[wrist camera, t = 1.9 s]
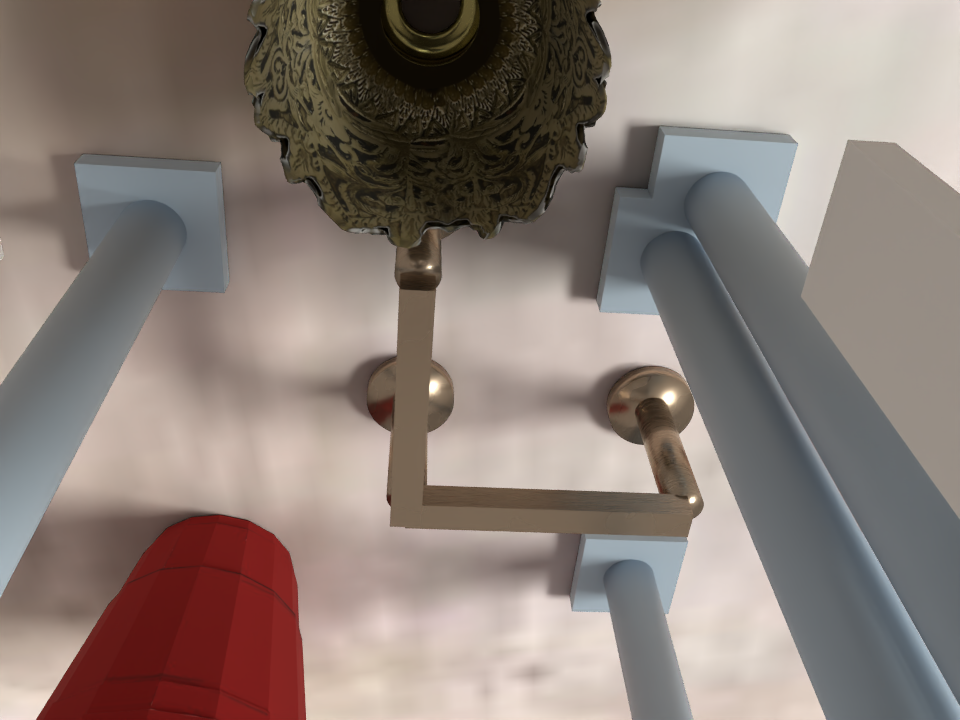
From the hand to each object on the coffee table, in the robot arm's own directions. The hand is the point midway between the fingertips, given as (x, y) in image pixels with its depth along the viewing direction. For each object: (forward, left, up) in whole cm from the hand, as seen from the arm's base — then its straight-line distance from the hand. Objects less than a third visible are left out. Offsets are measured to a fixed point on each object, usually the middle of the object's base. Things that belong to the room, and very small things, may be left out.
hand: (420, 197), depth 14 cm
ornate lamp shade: (0, 0, -14) cm, 14 cm away
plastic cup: (+22, -7, -14) cm, 27 cm away
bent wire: (+9, +4, -13) cm, 17 cm away
